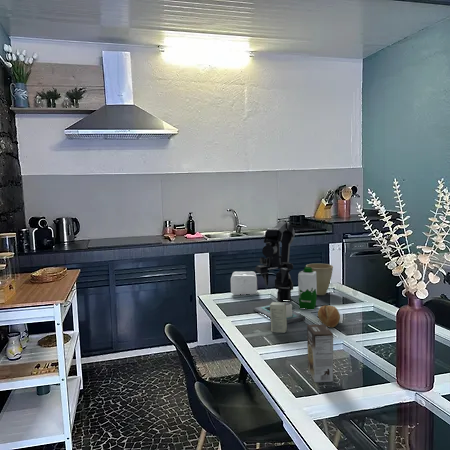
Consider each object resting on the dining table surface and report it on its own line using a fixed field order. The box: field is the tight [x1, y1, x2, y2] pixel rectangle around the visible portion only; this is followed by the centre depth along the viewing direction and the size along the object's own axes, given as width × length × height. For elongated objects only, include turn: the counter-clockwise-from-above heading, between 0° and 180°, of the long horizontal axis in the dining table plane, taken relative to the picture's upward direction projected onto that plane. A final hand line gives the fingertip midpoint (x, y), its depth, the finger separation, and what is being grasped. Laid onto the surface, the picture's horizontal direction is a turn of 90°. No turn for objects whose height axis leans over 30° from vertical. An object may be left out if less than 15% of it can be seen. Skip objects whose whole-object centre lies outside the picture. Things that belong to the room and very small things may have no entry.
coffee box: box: [306, 323, 334, 383], centre depth 137 cm, size 9×6×16 cm
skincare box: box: [269, 301, 288, 333], centre depth 180 cm, size 6×4×12 cm
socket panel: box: [253, 304, 306, 324], centre depth 201 cm, size 14×24×2 cm, turn 24°
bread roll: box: [317, 305, 341, 329], centre depth 187 cm, size 10×15×8 cm, turn 174°
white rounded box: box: [230, 271, 258, 296], centre depth 242 cm, size 15×11×12 cm
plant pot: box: [305, 263, 334, 296], centre depth 236 cm, size 15×15×16 cm
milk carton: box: [297, 266, 318, 310], centre depth 211 cm, size 9×9×20 cm
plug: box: [284, 301, 293, 318], centre depth 195 cm, size 4×4×8 cm
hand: (274, 284), depth 208 cm, fingers open, 9 cm apart
